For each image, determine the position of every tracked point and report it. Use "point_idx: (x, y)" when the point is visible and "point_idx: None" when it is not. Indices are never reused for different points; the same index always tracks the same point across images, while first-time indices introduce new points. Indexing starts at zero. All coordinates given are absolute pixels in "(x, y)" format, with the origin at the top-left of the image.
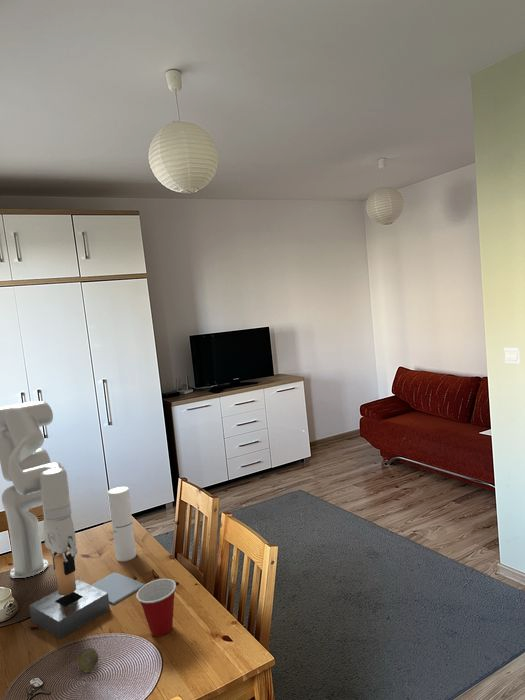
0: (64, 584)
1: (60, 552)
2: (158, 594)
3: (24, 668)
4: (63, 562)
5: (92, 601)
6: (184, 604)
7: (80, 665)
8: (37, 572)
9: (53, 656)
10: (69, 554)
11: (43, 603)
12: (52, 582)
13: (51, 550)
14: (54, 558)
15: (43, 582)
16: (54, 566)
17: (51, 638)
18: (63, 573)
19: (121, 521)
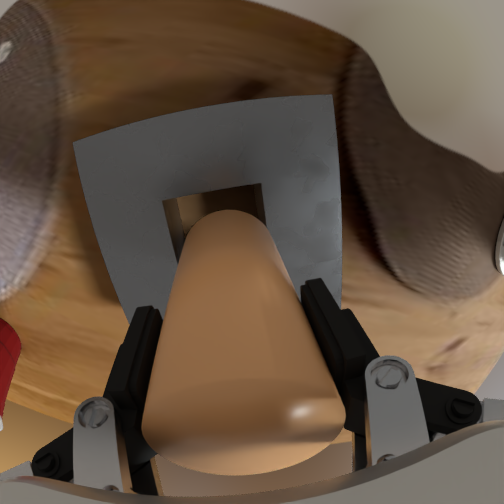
0: (180, 258)
1: (3, 490)
2: (4, 396)
3: (59, 25)
4: (118, 388)
5: (120, 294)
6: (66, 399)
7: None
8: (500, 241)
9: (40, 100)
10: (38, 476)
11: (287, 140)
12: (449, 250)
13: (422, 410)
14: (249, 379)
15: (467, 233)
16: (315, 296)
17: (129, 113)
18: (169, 305)
19: None
